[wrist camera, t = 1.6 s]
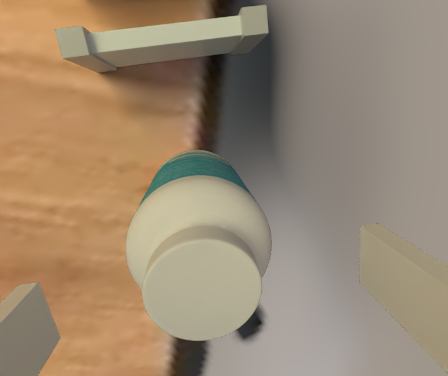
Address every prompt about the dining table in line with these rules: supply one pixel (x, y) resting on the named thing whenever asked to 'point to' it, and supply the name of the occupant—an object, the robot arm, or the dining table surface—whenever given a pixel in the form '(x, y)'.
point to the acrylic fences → (164, 41)
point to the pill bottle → (198, 247)
